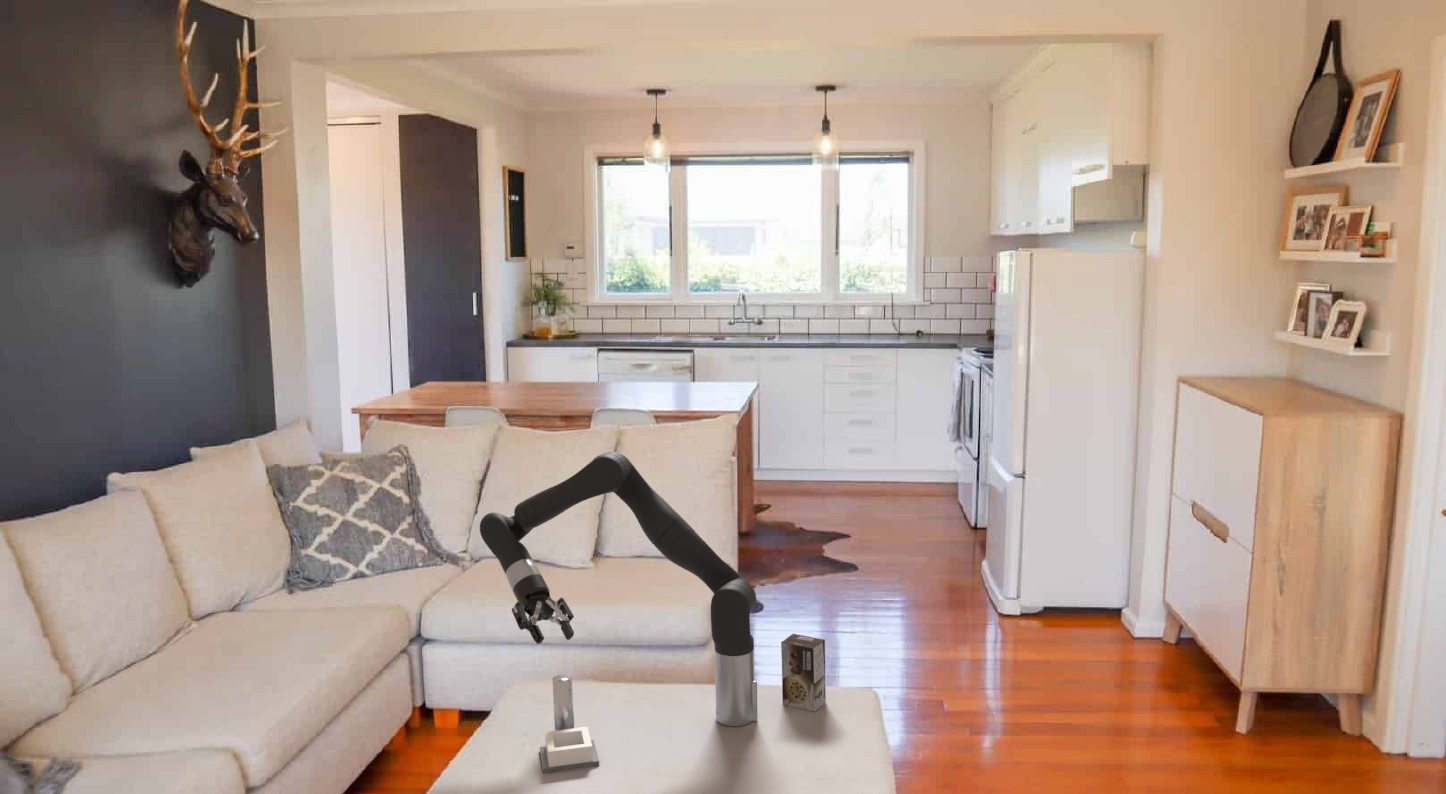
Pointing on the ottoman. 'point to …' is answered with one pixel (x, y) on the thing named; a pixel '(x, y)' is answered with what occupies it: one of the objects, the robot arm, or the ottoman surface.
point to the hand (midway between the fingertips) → (556, 639)
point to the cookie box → (803, 672)
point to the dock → (568, 750)
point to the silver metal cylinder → (563, 702)
